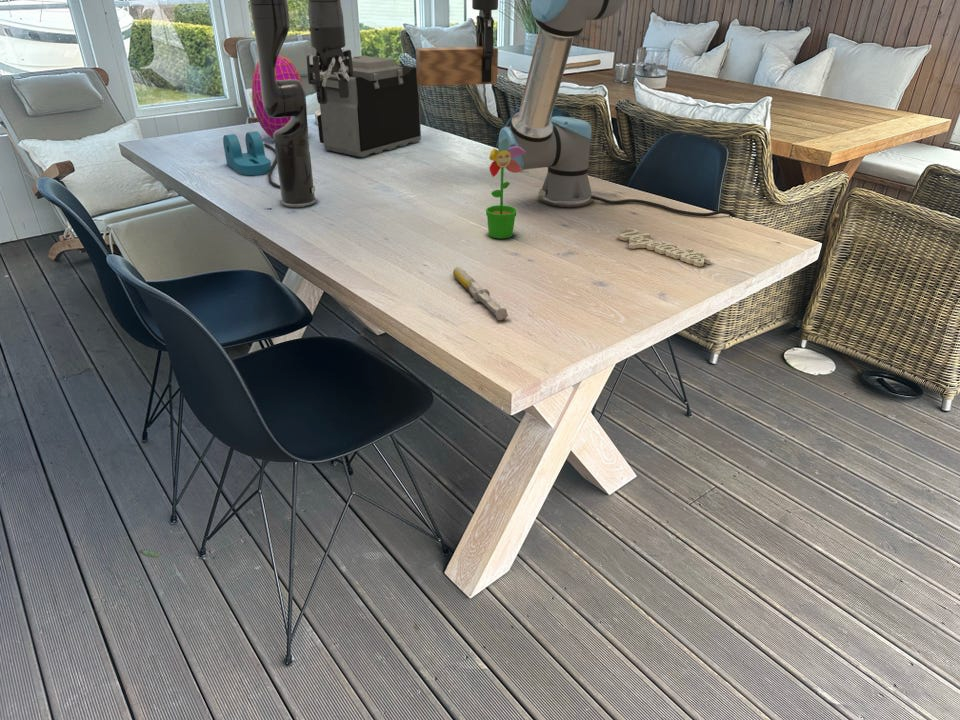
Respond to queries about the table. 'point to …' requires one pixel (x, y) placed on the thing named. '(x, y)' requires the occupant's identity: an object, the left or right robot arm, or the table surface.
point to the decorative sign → (663, 247)
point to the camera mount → (246, 154)
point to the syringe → (479, 293)
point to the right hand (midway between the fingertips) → (484, 79)
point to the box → (453, 66)
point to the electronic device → (371, 108)
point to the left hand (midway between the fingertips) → (333, 100)
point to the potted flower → (500, 214)
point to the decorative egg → (269, 125)
